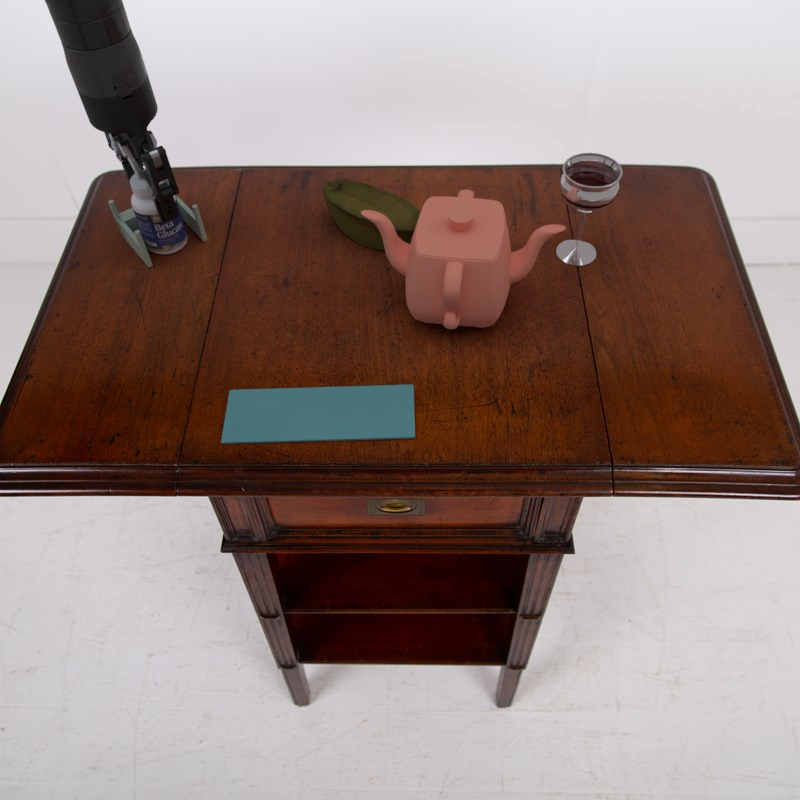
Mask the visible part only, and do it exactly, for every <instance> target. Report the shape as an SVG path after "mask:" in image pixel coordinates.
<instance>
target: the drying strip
mask: <svg viewBox="0 0 800 800" xmlns="http://www.w3.org/2000/svg"><path fill="white" fill-rule="evenodd" d="M415 414H416V413H415V386H414V384H411V383H410V384H385V385H384V384H379V385H377V384H376V385H347V386H346V385H345V386H315V387H314V386H313V387H278V388H277V387H276V388H247V389H246V388H245V389H244V388H243V389H229V392H228V397H227V404H226V409H225V416H224V420H223V421H224V422H223V428H222V433H221V434H222V435H221V440H220V443H221V445H234V444H235V445H236V444H264V443H265V444H269V443H271V444H273V443H299V442H300V443H302V442H305V443H306V442H307V443H308V442H337V441H338V442H339V441H340V442H341V441H343V442H344V441H345V442H346V441H378V440H380V441H381V440H408V439H409V440H410V439H412V440H413V439H416V419H415V418H416V417H415Z"/></svg>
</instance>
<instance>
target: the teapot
mask: <svg viewBox="0 0 800 800" xmlns="http://www.w3.org/2000/svg"><path fill="white" fill-rule="evenodd" d="M420 212H421V213H420V216H419V218H418V221H417V224H416V227H415V230H414V233H413V237H412V240H411V243H409V244H408V243H406V242H404V241H403V240H401V239H400V238H399V237H398V235H397V233H396V231H395V228H394V226H393V224H392V222H391V221H390V220H389V219H388V218H387V217H386V216H385V215H384V214H382V213H379V212H376V211H372V210H363V211H361V214H362V215H363V216H364V217H365V218H367V219H369V220H370V221H371V222H373V223H374V224H375V225H376V226H377V228H378V229H379V231H380V233H381V236H382V239H383V244H384V248H385V250H384V252H385V255H386V258H387V260H388V262H389V264H390V266H392V268H393V269H394V270H395V271H397V272H398V273H400V274H401V275H403V276H404V277H405V301H406V306H407V309H408V311H409V313H410V314H411V316H412V317H413V318H414V319H415V320H416V321H419V322H422V323H424V324H438V325H443V327H444V328H446V329H448V330H456V329H457V328H458V327H474V328H479V329H482V328H483V329H484V328H487V327H491V326H494V324H495V323H496V322H497V321H498V319H499V318H500V317H501V314H502V313H503V310H504V308H505V305H506V303H507V300H508V296H509V292H510V288H511V285H512V284H515V283H517V282H519V281H521V280H523V279H525V277H526V276H527V275H528V274H529V273H530V272H531V271H532V269H533V268H534V265H535V263H536V261H537V258H538V256H539V253H540V251H541V249H542V247H543V246H544V244H545V243H546V241H548V239H550V238H551V237H553V236H555V235H557V234H560V233H562V232H564V231H565V230H566V225H563V224H556V223H554V224H546V225H543V226H539V227H538V228H537V229H535V230H534V231H533V232H532V233H531V235H530V237H529V238H528V240H527V242H526V244H525V245H524V246H523V247H522V248H520V249H518V250H516V251H512V249H511V239H510V233H509V227H508V222H507V216H506V212H505V209H504V206H503V203H502V202H500V201H498V200H495V199H489V198H488V199H487V198H477V197H476V195H475V192H474V191H473V190H471V189H461V190H459V191H458V194H457V196H445V195H444V196H443V195H441V196H439V195H438V196H437V195H436V196H434V195H433V196H429V198H427V199H426V201H425V202H424V203H423V206H422V208H421V210H420Z"/></svg>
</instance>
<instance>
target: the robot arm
mask: <svg viewBox="0 0 800 800" xmlns="http://www.w3.org/2000/svg"><path fill="white" fill-rule="evenodd" d="M44 3H45V4H46V6H47V9H48V12H49V15H50V16H51V19H52V22H53V24H54V27H55V29H56V32H57V34H58V37H59V39H60V43H61V45H62V49H63V53H64V57H65V61H66V64H67V67H68V71H69V73H70V75H71V78H72V80H73V83H74V85H75V88H76V90H77V94H78V96H79V98H80V100H81V104H82V106H83V108H84V111H85V114H86V116H87V118H88V121H89V123H90V125H91V126H92V127H93V128H94V129H96V130H98V131H100V132H102V133H104V136H105V139H106V141H107V146H108V148H109V149H110V150H111V151H113V152H114V154H115V157H116V159H117V160H118V161H119V162H120V163H121V166H122V168H123V171H124V174H125V176H126V179H127V182H128V184H129V186H130V187H131V185H130V179H131V177H132V176H133V175H134V174H136V176H137V178H138V179H139V180H142V181H144V182H145V184H146V186H147V187H148V189H149V191H150V195H151V196H152V198H153V201H154V204H155V207H156V209H157V212H158V215H159V218H160V219H161V220H162V221H163V222H168V221H170V220H173V219H175V218H177V217H178V215H179V213H178V210H177V207H176V204H175V201H174V198H173V196H174V195H177V196H178V195H179V194H180V189H179V187H178V184H177V181H176V178H175V175H174V173H173V169H172V165H171V164H170V160H169V157H168V154H167V150H166V148H164V147H163V145H159V146H158V141H157V139H156V137H155V135H154V133H153V131H152V130H150V129H149V130H148V127H149V125H150V124H151V122H152V121H153V120H154V119H155V117H156V116H157V113H158V108H159V107H158V103H157V100H156V96H155V94H154V90H153V87H152V84H151V80H150V78H149V74H148V71H147V68H146V64H145V61H144V57H143V54H142V52H141V51H142V50H141V49H140V46H139V43H138V41H137V39H136V37H135V35H134V32H133V30H132V28H131V24H130V21H129V18H128V14H127V12H126V8H125V4H124V2H123V0H44ZM143 170H146V171H143ZM161 181H163V182H164V183H162V184H160V185H159V183H160V182H161Z"/></svg>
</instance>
